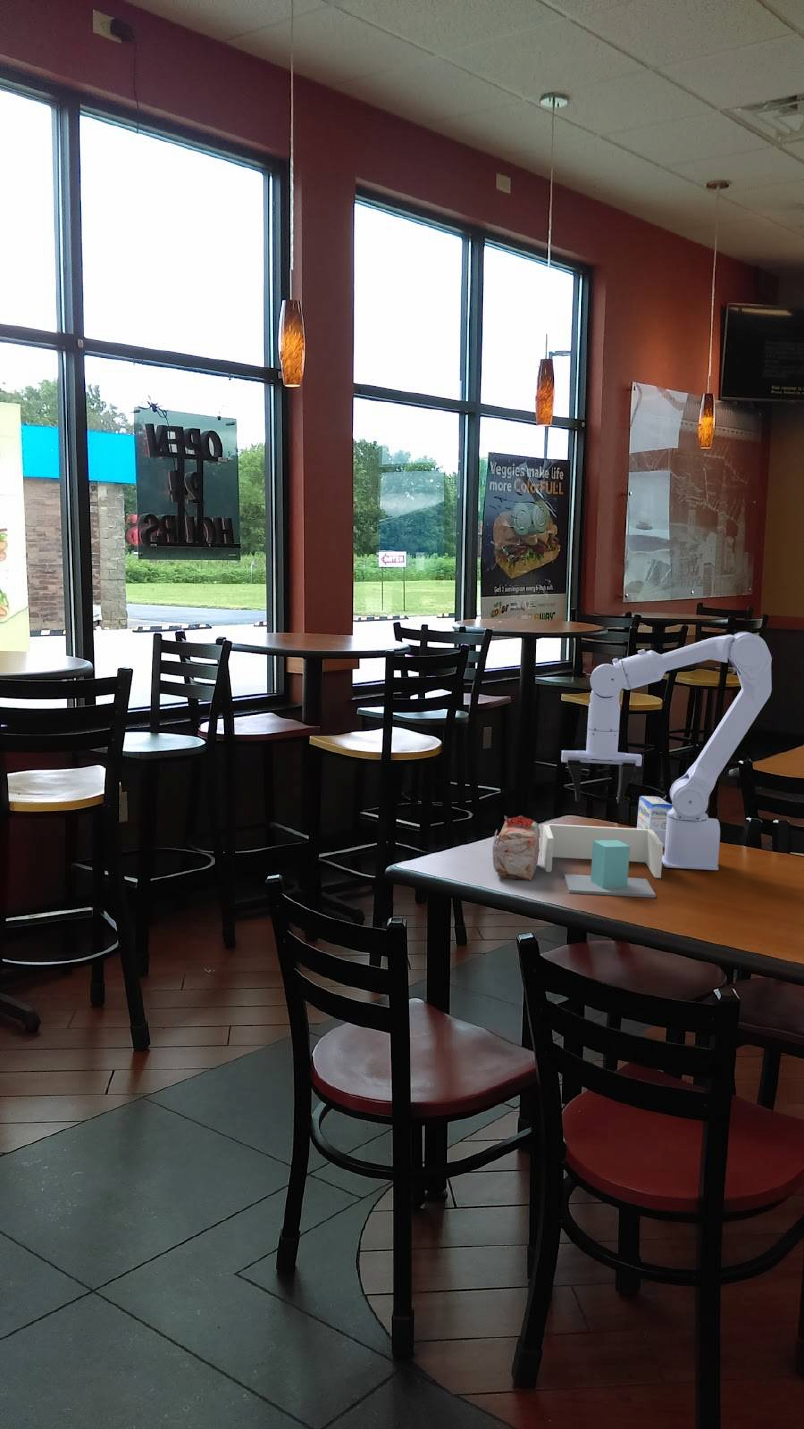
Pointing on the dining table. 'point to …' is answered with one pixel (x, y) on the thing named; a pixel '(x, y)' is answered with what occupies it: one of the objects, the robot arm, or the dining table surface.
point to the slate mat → (585, 886)
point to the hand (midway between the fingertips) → (598, 802)
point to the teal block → (610, 863)
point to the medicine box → (653, 815)
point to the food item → (516, 848)
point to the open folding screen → (580, 839)
